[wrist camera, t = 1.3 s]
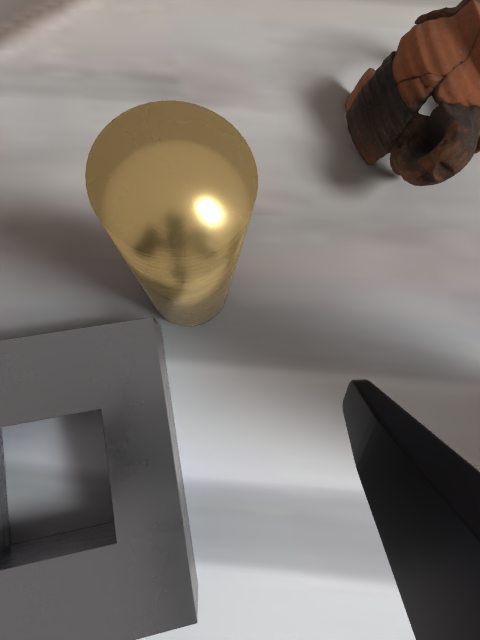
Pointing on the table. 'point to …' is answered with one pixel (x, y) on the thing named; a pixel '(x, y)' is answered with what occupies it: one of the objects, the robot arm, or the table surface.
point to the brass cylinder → (175, 202)
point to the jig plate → (126, 490)
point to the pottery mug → (423, 99)
